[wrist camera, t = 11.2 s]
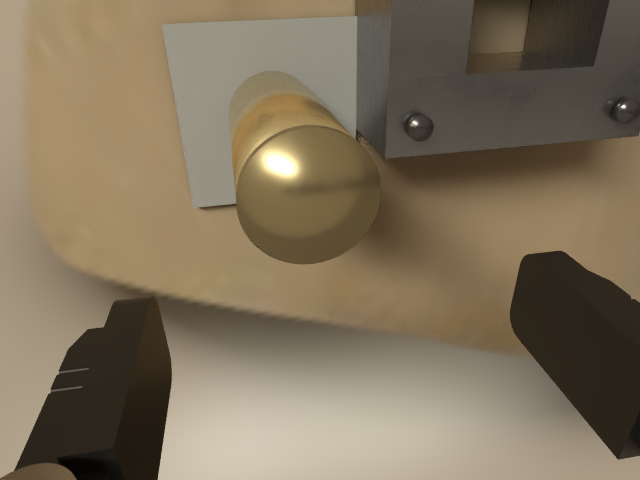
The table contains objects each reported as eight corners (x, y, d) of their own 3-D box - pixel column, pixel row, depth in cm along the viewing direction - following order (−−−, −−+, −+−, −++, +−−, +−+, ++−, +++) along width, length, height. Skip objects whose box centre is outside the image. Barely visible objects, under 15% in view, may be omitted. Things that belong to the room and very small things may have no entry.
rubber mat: (355, 16, 25) (357, 16, 24) (353, 189, 30) (355, 191, 29) (162, 23, 23) (161, 24, 23) (193, 205, 28) (193, 207, 28)
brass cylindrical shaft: (315, 68, 25) (383, 122, 15) (318, 156, 28) (378, 255, 17) (222, 73, 25) (227, 134, 14) (234, 163, 27) (244, 272, 17)
